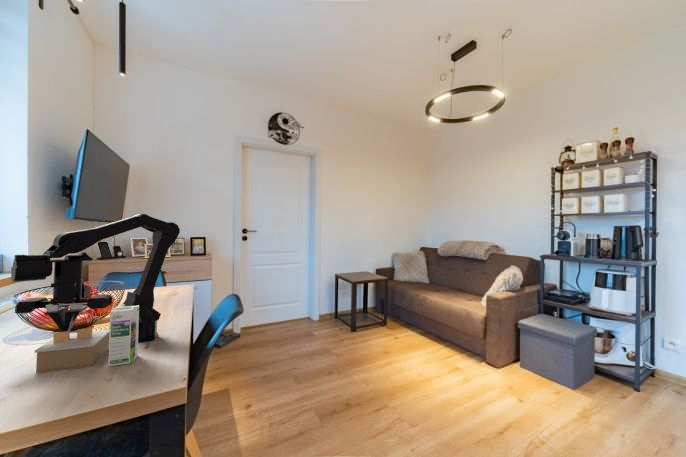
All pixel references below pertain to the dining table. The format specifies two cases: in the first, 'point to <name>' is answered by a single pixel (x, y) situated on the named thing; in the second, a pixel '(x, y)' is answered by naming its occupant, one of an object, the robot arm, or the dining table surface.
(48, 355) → the carton
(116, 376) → the dining table surface
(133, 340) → the syrup box
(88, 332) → the right cover
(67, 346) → the left cover
